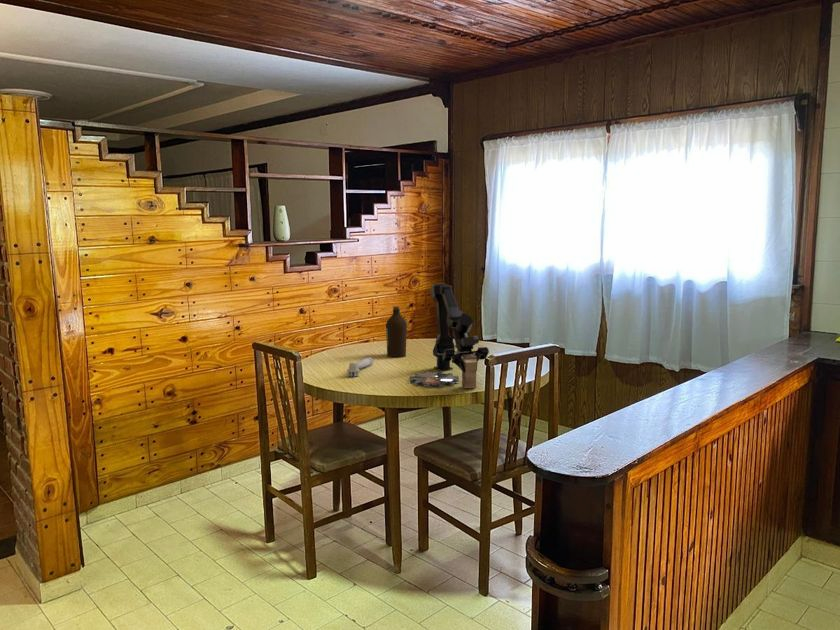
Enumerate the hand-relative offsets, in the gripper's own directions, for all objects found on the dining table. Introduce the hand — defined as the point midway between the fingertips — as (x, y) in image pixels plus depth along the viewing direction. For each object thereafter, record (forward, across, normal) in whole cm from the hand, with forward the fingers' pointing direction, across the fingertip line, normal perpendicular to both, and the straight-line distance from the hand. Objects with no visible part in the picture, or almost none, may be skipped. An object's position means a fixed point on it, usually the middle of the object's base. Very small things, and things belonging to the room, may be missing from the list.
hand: (470, 371), depth 252 cm
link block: (+4, 0, +6) cm, 7 cm away
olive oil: (-43, -15, +53) cm, 70 cm away
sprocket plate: (-6, -11, +16) cm, 20 cm away
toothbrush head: (-24, -37, +35) cm, 56 cm away
